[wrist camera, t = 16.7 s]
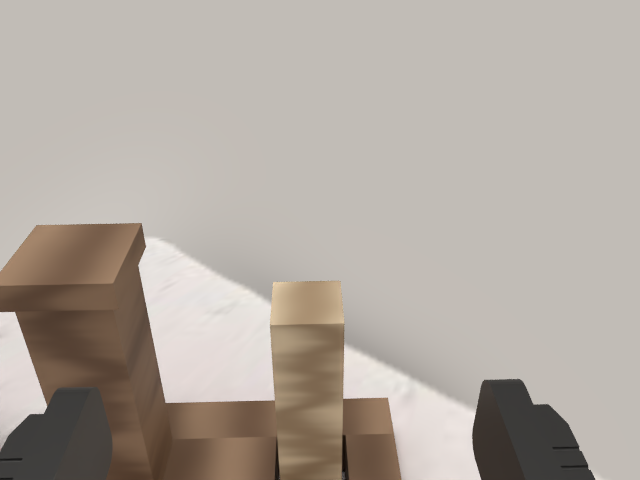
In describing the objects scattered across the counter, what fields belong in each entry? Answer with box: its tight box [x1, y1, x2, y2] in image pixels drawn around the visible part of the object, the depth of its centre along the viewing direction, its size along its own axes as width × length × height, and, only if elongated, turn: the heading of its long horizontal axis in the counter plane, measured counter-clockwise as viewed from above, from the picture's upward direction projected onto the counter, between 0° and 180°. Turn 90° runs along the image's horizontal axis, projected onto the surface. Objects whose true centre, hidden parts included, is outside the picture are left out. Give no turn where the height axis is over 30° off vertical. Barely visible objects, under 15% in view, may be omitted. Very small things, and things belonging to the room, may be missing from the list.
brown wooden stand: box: [0, 223, 401, 480], centre depth 37 cm, size 22×12×22 cm, turn 91°
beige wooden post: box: [270, 281, 344, 480], centre depth 38 cm, size 4×4×18 cm
